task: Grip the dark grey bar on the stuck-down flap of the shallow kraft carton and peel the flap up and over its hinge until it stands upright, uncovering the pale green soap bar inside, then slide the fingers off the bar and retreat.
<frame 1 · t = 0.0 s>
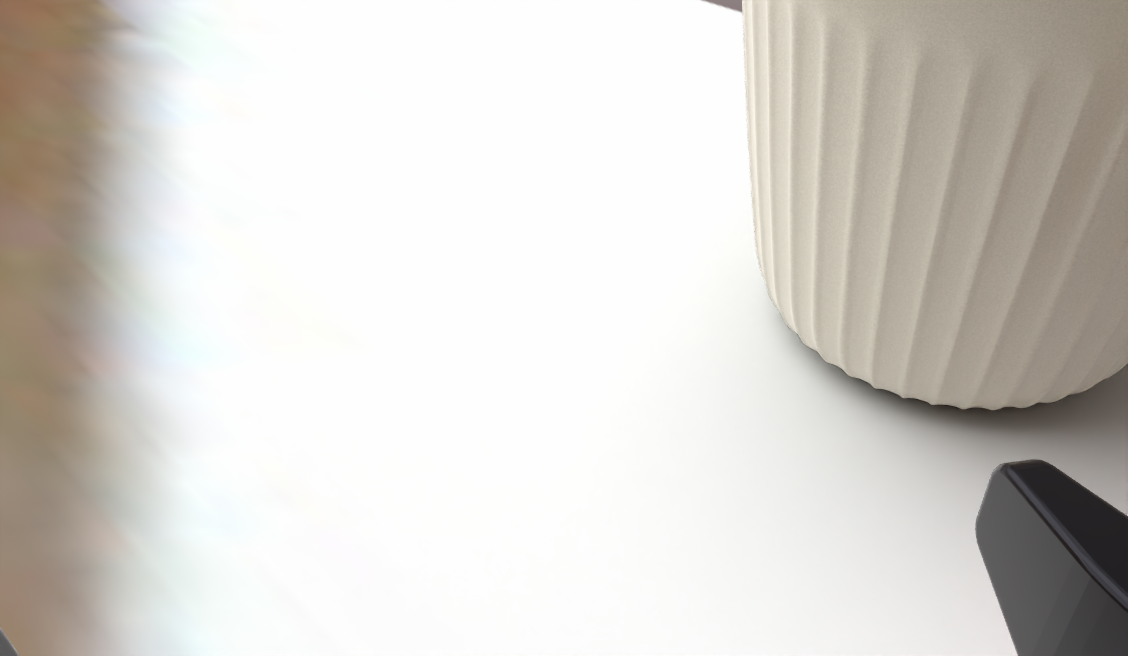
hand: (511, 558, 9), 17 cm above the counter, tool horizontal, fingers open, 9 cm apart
canister: (938, 313, 37), on the counter
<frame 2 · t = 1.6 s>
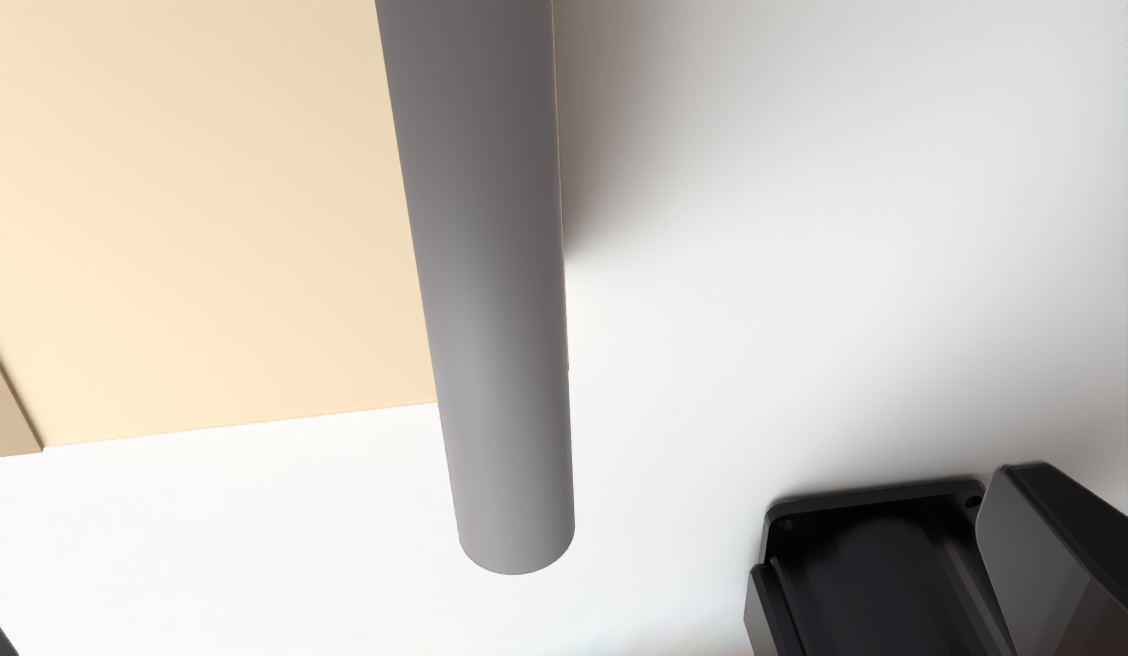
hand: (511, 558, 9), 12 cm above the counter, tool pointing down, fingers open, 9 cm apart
flap: (156, 220, 13), point 6 cm above the counter, hinge at 0.0°
carton: (233, 34, 18), on the counter
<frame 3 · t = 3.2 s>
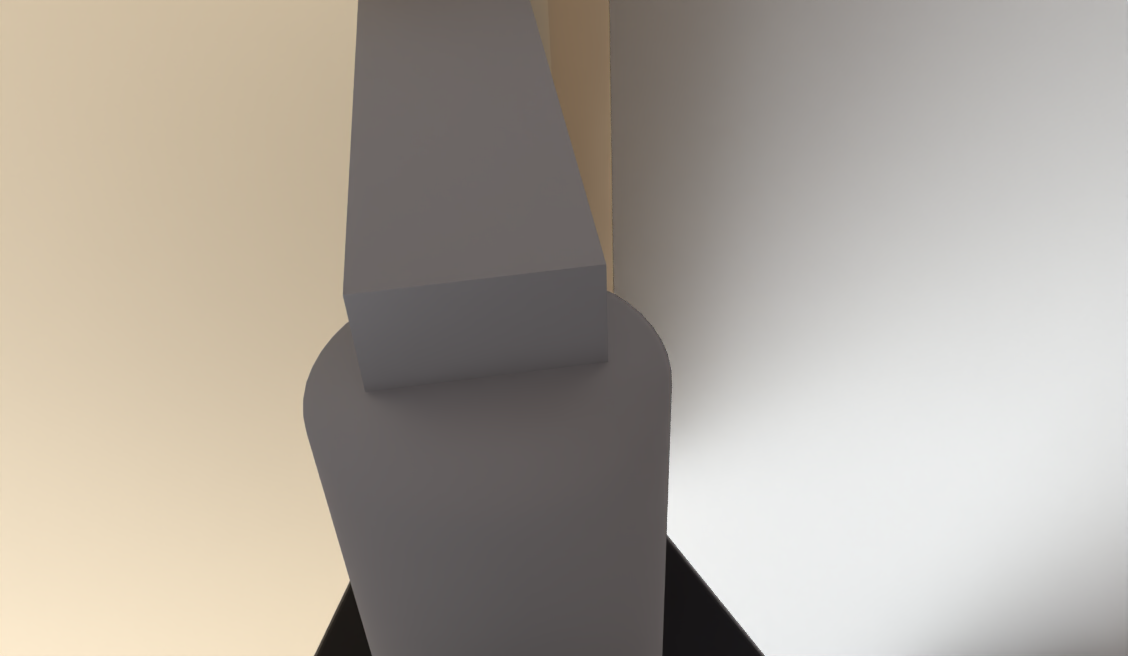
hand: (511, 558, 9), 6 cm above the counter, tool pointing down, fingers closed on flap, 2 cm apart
flap: (3, 645, 9), point 6 cm above the counter, hinge at -0.1°, touching gripper
carton: (159, 234, 13), on the counter
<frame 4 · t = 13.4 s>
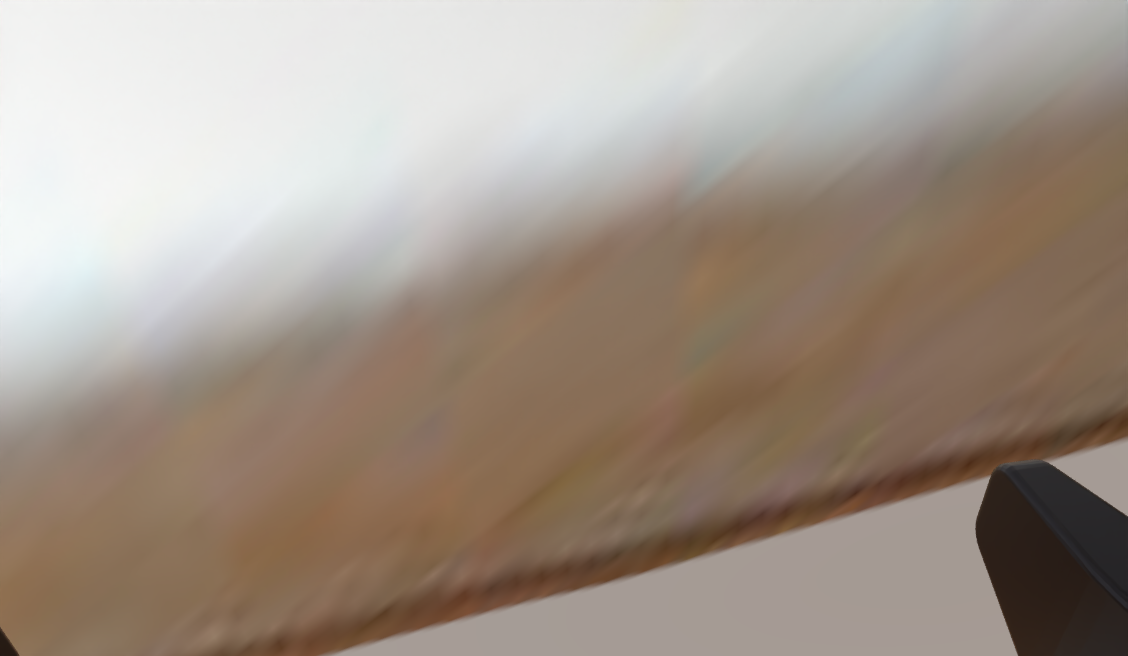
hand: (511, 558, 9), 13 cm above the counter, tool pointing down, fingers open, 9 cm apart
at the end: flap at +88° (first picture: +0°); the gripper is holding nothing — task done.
